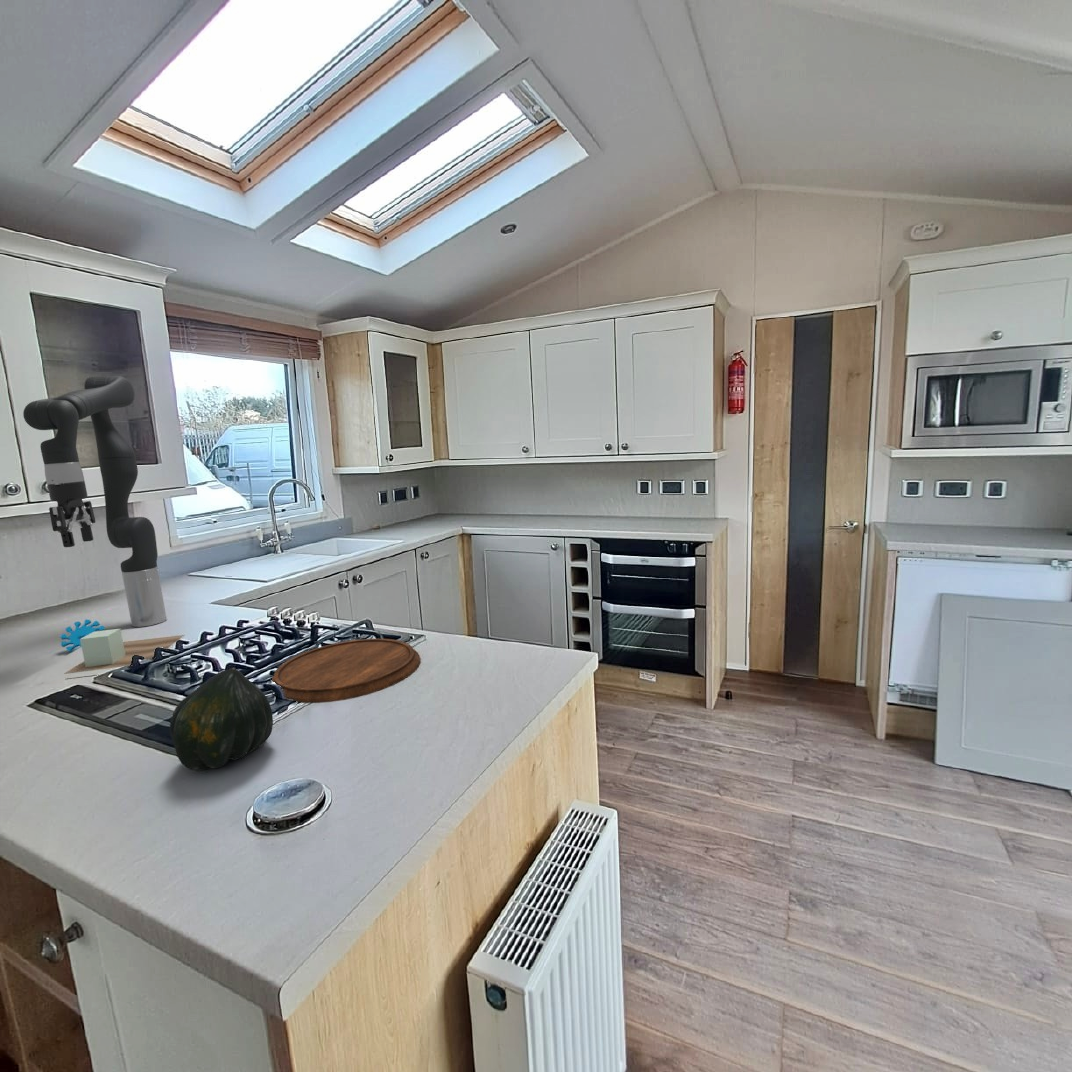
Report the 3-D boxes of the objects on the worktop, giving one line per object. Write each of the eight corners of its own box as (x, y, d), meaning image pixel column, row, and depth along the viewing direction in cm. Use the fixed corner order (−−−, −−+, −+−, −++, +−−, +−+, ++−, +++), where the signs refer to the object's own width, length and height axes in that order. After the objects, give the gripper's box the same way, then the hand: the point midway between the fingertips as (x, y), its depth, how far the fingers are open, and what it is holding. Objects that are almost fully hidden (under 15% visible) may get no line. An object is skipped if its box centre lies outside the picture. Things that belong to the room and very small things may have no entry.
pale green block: (99, 658, 147) (94, 631, 146) (125, 655, 148) (120, 628, 146) (85, 667, 141) (79, 639, 140) (113, 663, 142) (107, 636, 141)
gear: (54, 651, 155) (65, 618, 161) (62, 661, 159) (72, 629, 165) (103, 650, 158) (112, 617, 164) (109, 659, 162) (118, 628, 168)
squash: (131, 750, 89) (183, 676, 87) (193, 709, 103) (239, 644, 102) (207, 806, 89) (261, 733, 87) (258, 757, 104) (305, 694, 102)
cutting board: (234, 697, 121) (232, 685, 121) (336, 643, 151) (334, 634, 150) (363, 711, 110) (361, 698, 109) (445, 650, 139) (444, 640, 139)
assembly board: (114, 648, 159) (110, 629, 158) (186, 640, 162) (182, 620, 161) (65, 679, 138) (60, 657, 137) (148, 669, 140) (144, 647, 140)
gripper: (65, 480, 154) (78, 540, 157) (30, 484, 141) (45, 550, 143) (97, 478, 156) (109, 538, 159) (65, 481, 142) (79, 547, 145)
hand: (79, 543), depth 151 cm, fingers open, 8 cm apart
